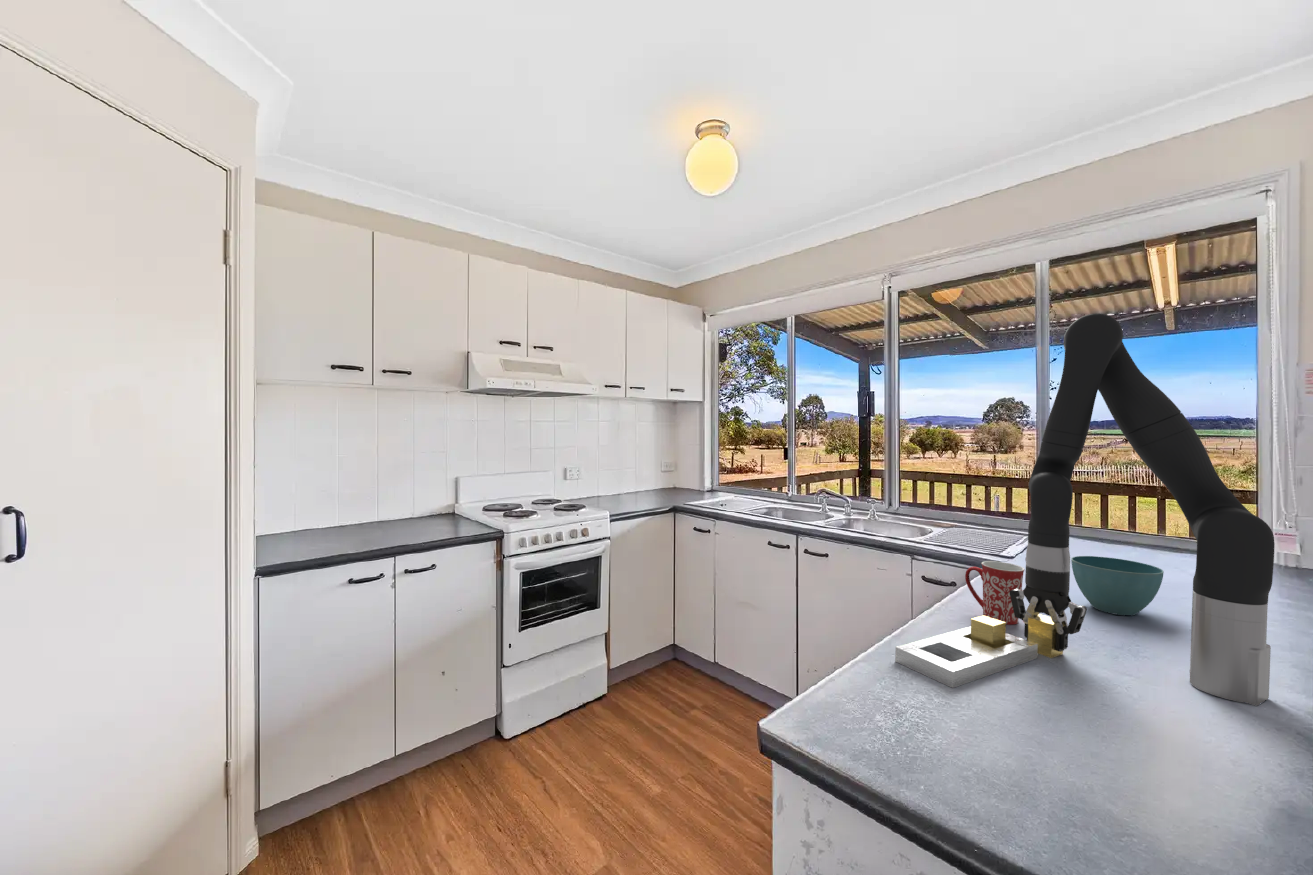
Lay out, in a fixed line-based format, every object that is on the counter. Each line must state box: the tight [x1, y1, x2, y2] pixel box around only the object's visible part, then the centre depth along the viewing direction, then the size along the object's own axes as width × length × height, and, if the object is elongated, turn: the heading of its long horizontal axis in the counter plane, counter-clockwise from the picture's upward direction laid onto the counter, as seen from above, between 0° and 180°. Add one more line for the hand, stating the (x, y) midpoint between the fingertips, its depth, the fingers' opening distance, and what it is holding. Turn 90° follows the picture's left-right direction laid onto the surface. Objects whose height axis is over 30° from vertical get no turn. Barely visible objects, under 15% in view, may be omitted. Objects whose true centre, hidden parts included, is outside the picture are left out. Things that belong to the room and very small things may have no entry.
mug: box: [964, 560, 1026, 626], centre depth 132 cm, size 13×9×14 cm
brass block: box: [1028, 613, 1064, 659], centre depth 112 cm, size 4×4×7 cm
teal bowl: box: [1070, 555, 1165, 616], centre depth 138 cm, size 18×18×12 cm
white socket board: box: [894, 625, 1038, 689], centre depth 107 cm, size 28×12×3 cm, turn 118°
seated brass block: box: [970, 614, 1007, 649], centre depth 111 cm, size 4×4×7 cm
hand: (1045, 645), depth 112 cm, fingers open, 5 cm apart
